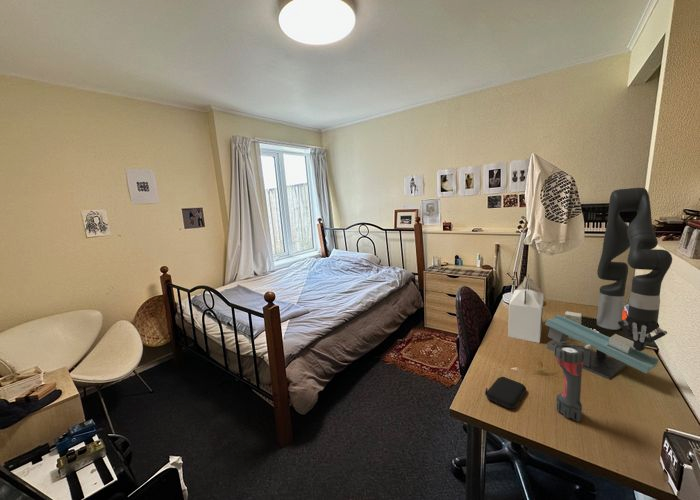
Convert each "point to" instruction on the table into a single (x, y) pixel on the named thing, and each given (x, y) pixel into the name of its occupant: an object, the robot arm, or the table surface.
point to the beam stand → (597, 361)
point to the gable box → (526, 312)
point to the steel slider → (621, 344)
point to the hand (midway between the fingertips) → (638, 349)
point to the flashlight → (570, 379)
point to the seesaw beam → (597, 342)
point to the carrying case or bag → (506, 392)
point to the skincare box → (573, 318)
